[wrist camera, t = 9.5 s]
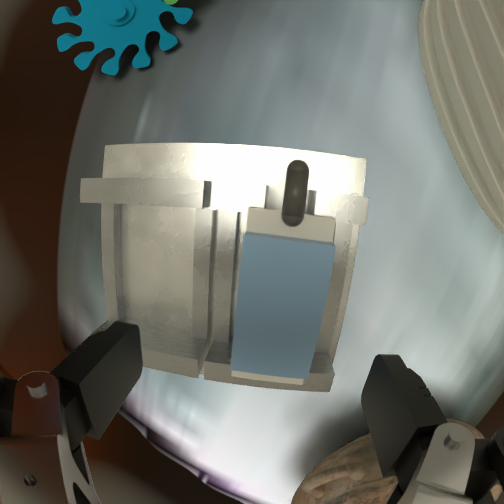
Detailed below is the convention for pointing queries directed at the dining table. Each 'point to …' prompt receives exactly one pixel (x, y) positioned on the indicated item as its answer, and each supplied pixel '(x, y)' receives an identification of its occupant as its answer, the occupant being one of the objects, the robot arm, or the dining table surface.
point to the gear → (119, 28)
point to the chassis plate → (210, 245)
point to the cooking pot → (356, 476)
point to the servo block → (282, 286)
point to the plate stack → (469, 90)
